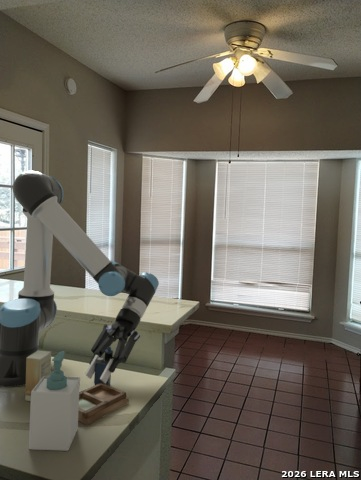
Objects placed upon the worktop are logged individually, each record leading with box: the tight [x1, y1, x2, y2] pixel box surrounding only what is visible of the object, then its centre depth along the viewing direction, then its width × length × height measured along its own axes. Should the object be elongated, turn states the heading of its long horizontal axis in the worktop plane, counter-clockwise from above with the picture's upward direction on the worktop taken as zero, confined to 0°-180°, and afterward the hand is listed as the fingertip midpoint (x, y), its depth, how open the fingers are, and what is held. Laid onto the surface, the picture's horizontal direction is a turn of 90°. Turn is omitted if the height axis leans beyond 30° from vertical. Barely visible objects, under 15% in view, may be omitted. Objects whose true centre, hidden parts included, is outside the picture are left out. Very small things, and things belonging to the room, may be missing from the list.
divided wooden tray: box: [78, 383, 130, 426], centre depth 102 cm, size 12×15×3 cm
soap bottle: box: [28, 350, 81, 452], centre depth 85 cm, size 9×9×19 cm
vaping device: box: [93, 346, 114, 386], centre depth 114 cm, size 3×5×12 cm, turn 78°
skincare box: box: [24, 349, 52, 402], centre depth 105 cm, size 6×4×12 cm
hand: (95, 378), depth 111 cm, fingers closed on vaping device, 5 cm apart
